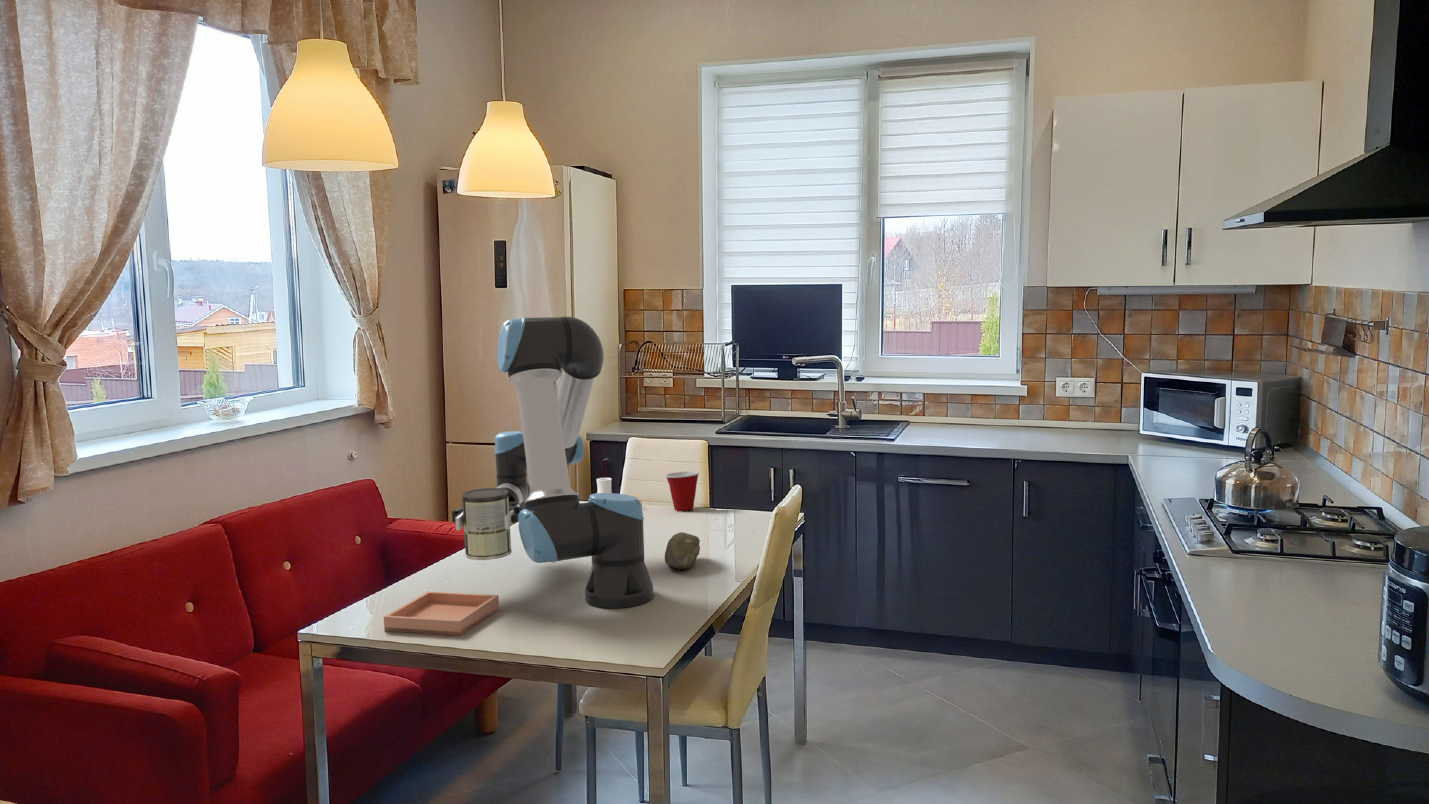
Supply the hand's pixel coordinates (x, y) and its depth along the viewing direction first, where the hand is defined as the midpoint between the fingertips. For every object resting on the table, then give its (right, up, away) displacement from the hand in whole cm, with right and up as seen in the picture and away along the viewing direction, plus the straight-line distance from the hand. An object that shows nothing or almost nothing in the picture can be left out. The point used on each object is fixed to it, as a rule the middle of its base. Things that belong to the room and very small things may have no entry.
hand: (481, 523), depth 208 cm
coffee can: (0, -8, +5) cm, 9 cm away
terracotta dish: (-6, -19, -9) cm, 22 cm away
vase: (+16, -8, +93) cm, 95 cm away
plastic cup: (+41, -8, +90) cm, 100 cm away
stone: (+43, -14, +27) cm, 53 cm away
